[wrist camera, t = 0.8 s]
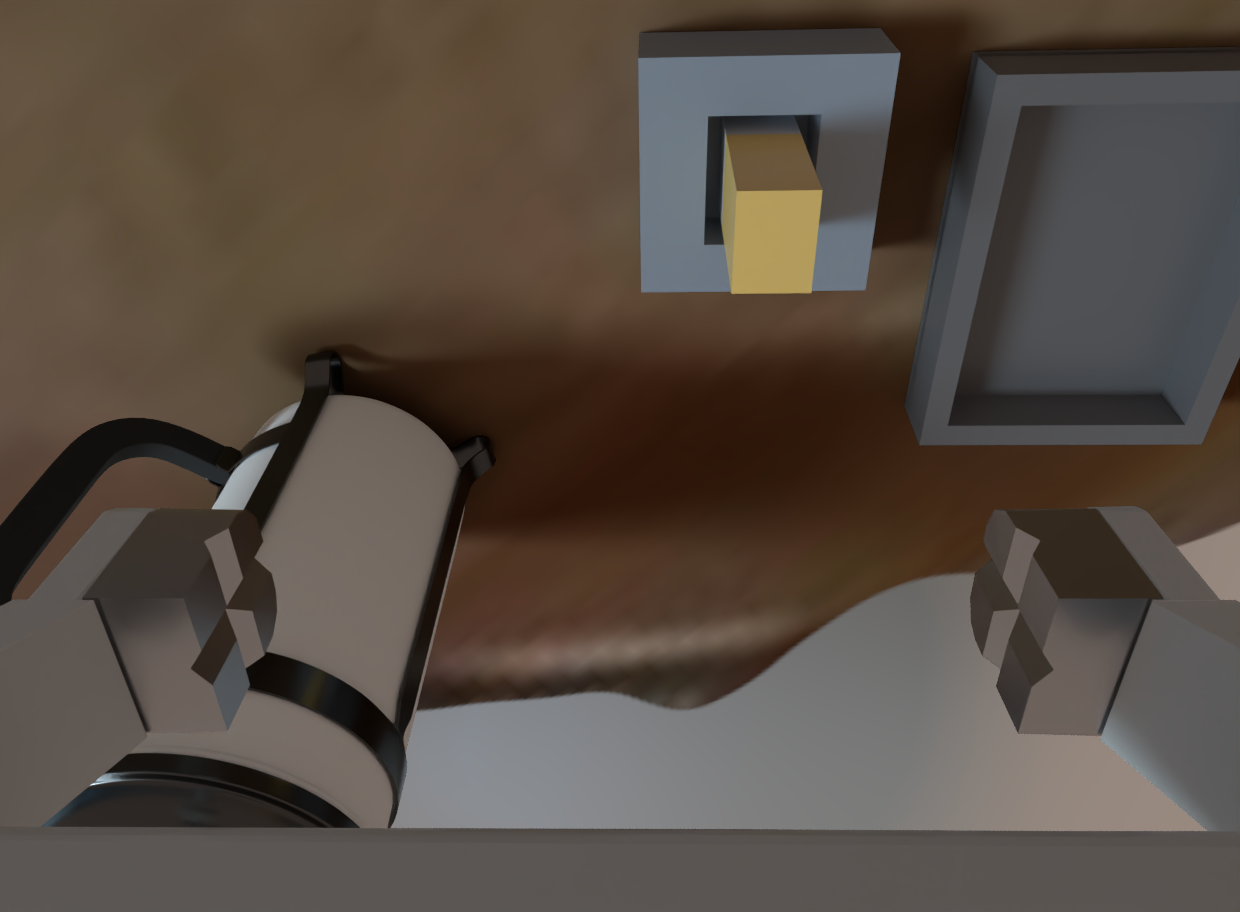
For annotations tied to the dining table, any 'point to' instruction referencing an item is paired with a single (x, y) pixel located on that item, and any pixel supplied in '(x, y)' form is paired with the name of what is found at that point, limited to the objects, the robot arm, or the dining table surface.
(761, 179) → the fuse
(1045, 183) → the parts tray
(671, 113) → the socket block
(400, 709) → the coffee press
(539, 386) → the dining table surface
